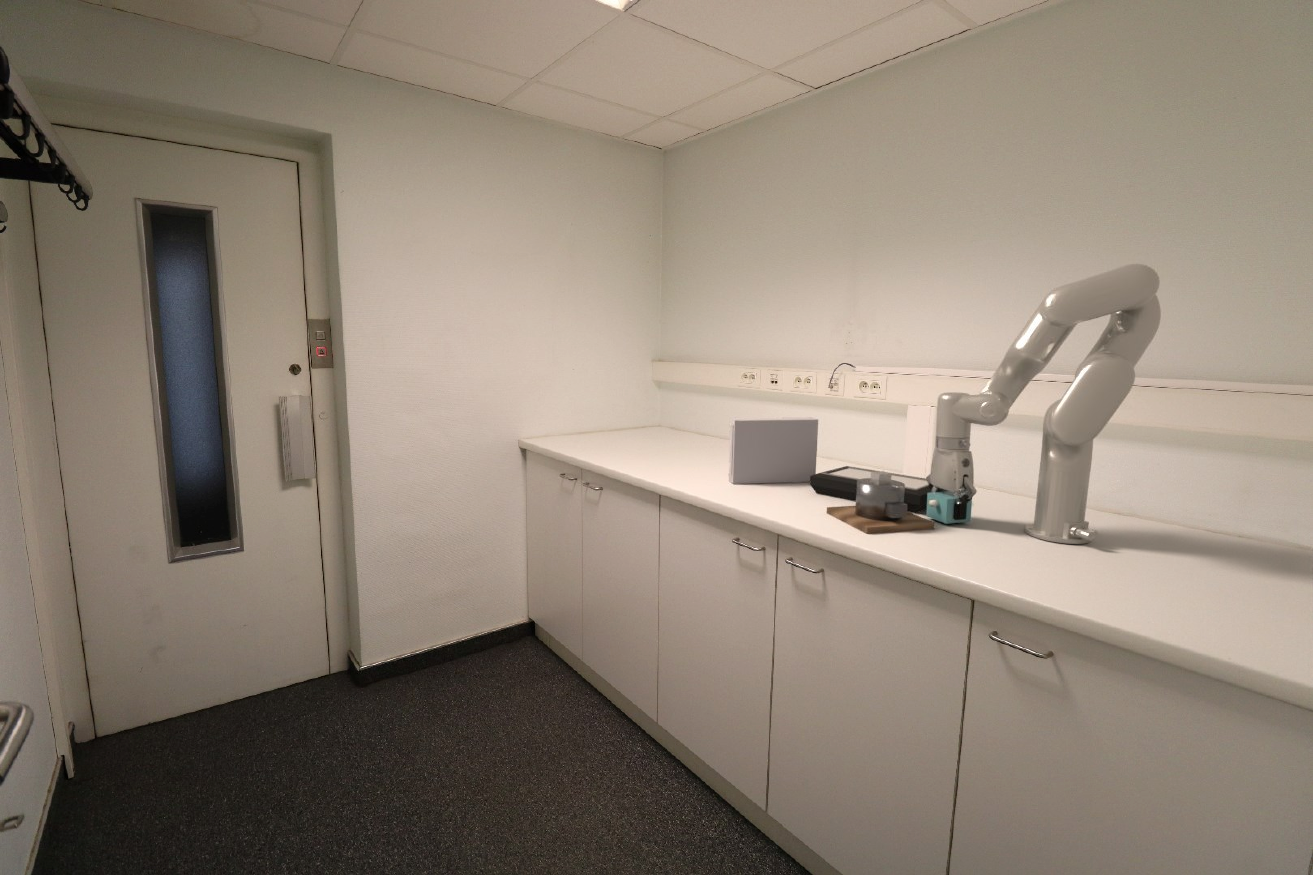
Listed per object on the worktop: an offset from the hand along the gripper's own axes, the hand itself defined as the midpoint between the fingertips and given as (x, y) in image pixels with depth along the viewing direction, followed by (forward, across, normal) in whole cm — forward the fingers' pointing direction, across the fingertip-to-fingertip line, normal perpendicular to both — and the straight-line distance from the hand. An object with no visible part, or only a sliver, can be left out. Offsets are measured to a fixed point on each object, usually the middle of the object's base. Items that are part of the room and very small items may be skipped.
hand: (948, 514), depth 151 cm
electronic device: (+2, +25, +3) cm, 25 cm away
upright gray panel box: (+1, +52, +24) cm, 57 cm away
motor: (0, +3, +16) cm, 17 cm away
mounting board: (+1, +4, +16) cm, 17 cm away
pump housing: (+1, 0, 0) cm, 1 cm away
